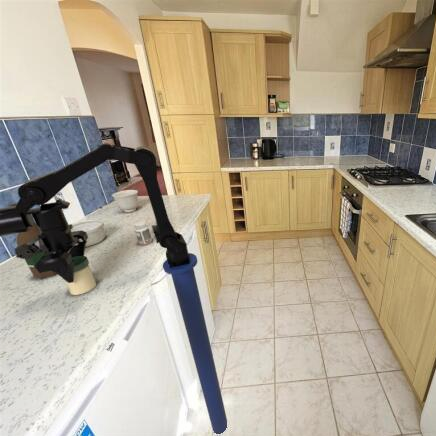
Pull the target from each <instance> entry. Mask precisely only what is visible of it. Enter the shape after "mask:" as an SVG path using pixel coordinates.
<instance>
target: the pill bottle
mask: <svg viewBox="0 0 436 436" xmlns="http://www.w3.org/2000/svg"><path fill="white" fill-rule="evenodd" d="M133 226H134V233H135V235H136V239H137V242H138V244H139V245H142V246H143V245H147V244H150V243H151V242H152V241H153V239H152V236H151V231H150V229H149V226H147V223H146V221H138V222H135V223H134V224H133Z"/></svg>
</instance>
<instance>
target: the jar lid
mask: <svg viewBox="0 0 436 436" xmlns="http://www.w3.org/2000/svg"><path fill="white" fill-rule="evenodd" d="M72 260H75V263H74V272H77V271H79V270H82V269H83V268H85V267H86V266H88V265H89V264H90V261H89V259H88V257H87V256H85V255H84V256H76V257H72Z"/></svg>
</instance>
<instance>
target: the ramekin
mask: <svg viewBox="0 0 436 436" xmlns="http://www.w3.org/2000/svg"><path fill="white" fill-rule="evenodd" d="M71 224H72V223H71ZM72 226H73V228H72V229H71V232H74V231H80V230H82V231H84V232H86V233H87V236H88V239H87V240H86V241H87V243H86V247H90V246H94V245H97V244H99V243H101V242H102V241H103V240H104V239H105V237H106V232H105V223H104V221H102V220H100V219H89V220H83V221H79V222H76V223H75V222H74V223H73V224H72ZM79 240H80V241H81V242H82V239H79Z"/></svg>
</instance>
